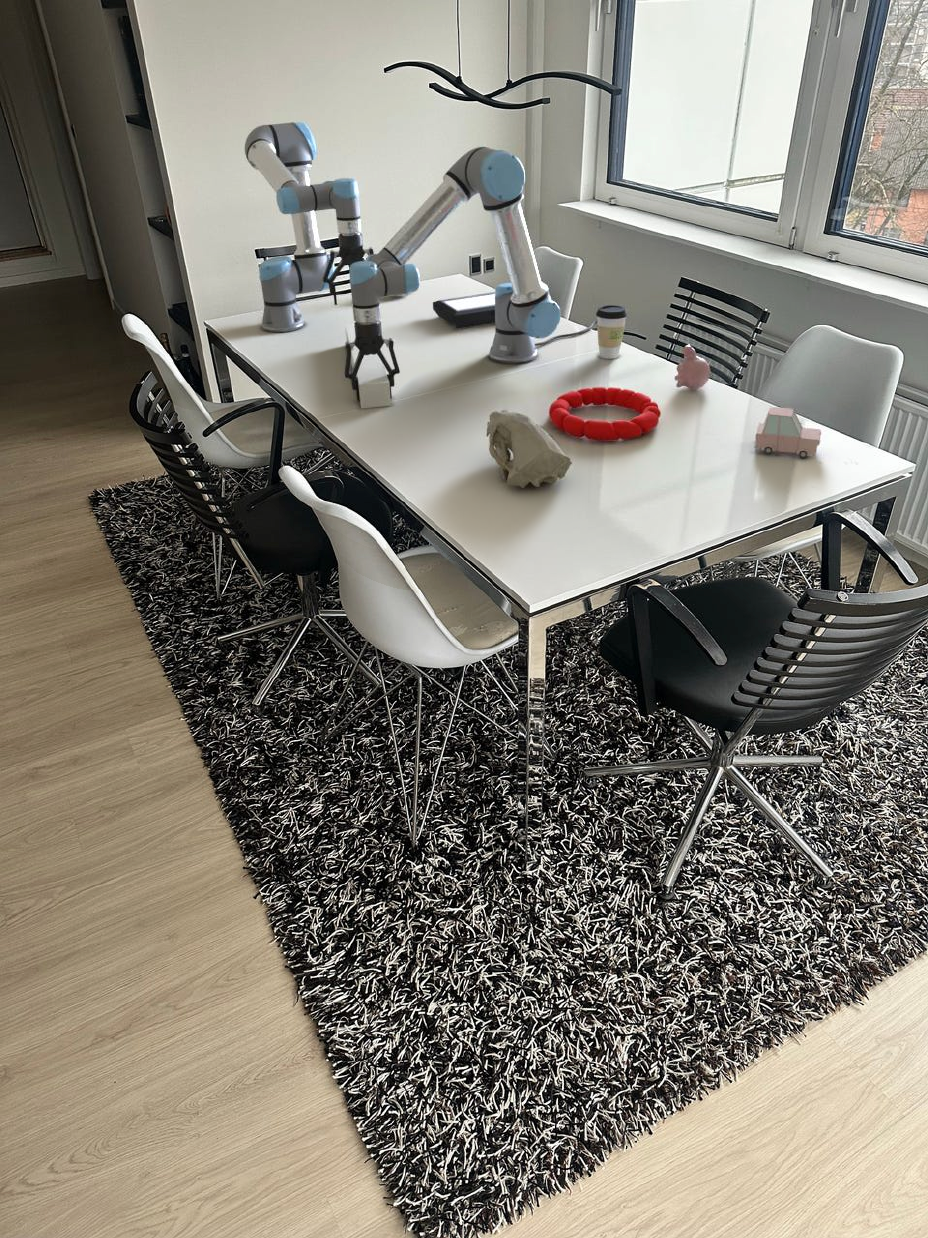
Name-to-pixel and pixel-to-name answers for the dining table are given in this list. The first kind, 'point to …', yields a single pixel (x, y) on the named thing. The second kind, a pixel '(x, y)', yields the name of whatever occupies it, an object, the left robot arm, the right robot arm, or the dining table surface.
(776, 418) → the toy car
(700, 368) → the figurine
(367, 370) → the wide beam
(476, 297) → the electronic device
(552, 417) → the decorative ring
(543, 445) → the animal skull
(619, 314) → the coffee cup
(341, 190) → the left robot arm
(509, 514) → the dining table surface
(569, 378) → the dining table surface
